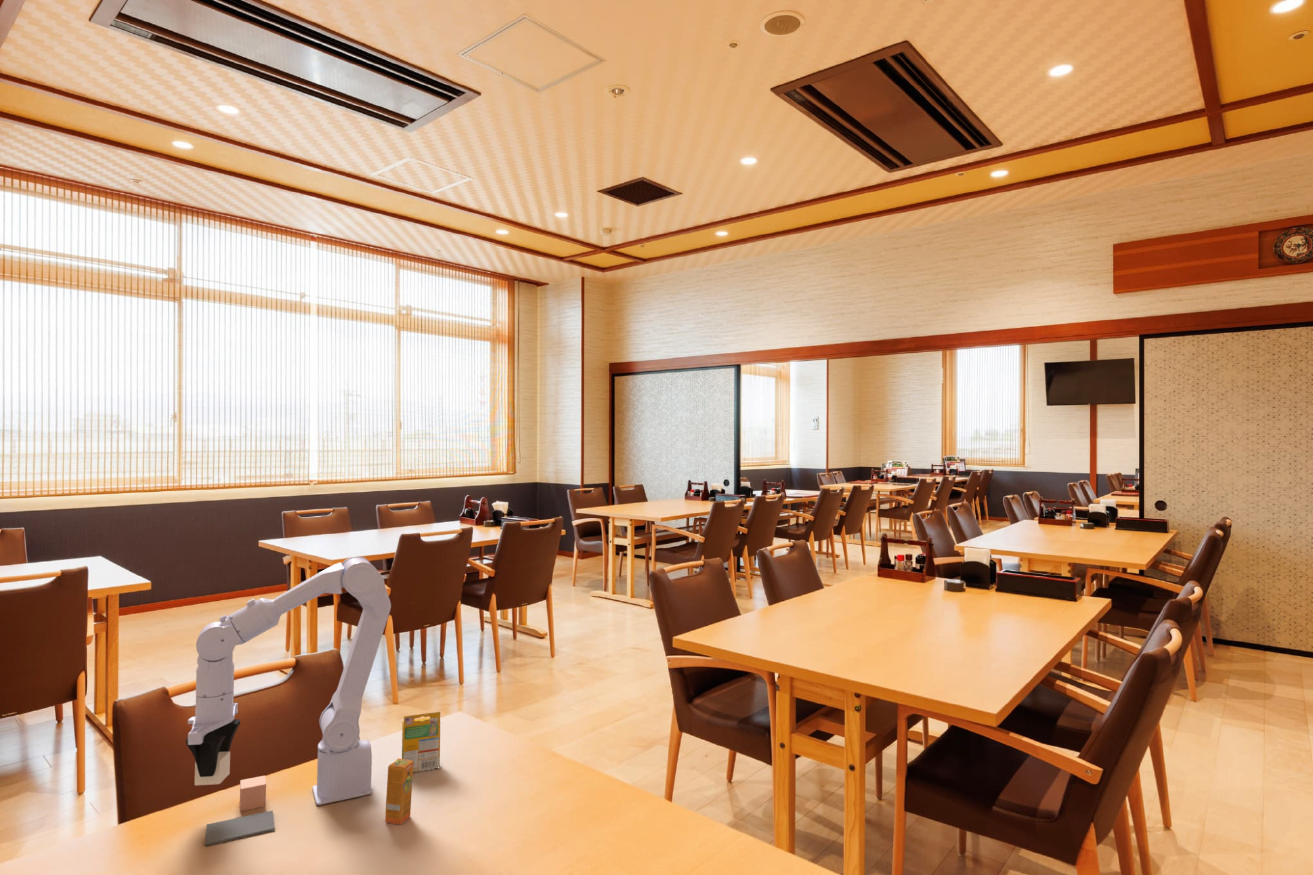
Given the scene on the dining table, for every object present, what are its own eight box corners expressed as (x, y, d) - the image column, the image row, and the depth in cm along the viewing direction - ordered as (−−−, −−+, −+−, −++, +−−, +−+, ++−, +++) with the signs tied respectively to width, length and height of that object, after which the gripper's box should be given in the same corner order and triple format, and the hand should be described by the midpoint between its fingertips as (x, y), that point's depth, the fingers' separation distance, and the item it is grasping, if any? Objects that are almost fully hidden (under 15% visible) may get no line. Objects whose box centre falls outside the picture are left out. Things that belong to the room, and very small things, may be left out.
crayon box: (438, 763, 149) (439, 707, 150) (439, 768, 147) (441, 711, 147) (401, 768, 146) (402, 711, 147) (402, 774, 144) (403, 716, 144)
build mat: (272, 812, 128) (272, 810, 128) (274, 830, 122) (274, 828, 122) (206, 826, 123) (206, 824, 123) (205, 846, 117) (205, 843, 117)
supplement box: (402, 825, 124) (403, 767, 124) (384, 823, 125) (385, 765, 125) (412, 816, 127) (413, 759, 128) (395, 814, 128) (396, 757, 128)
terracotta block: (264, 797, 134) (265, 775, 134) (265, 806, 131) (266, 784, 131) (239, 802, 132) (240, 780, 132) (240, 811, 128) (240, 788, 129)
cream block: (229, 773, 128) (230, 751, 129) (219, 783, 124) (220, 760, 125) (205, 775, 128) (206, 752, 128) (194, 785, 124) (195, 762, 124)
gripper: (209, 680, 133) (207, 753, 133) (168, 707, 119) (166, 790, 118) (250, 678, 134) (248, 751, 134) (214, 705, 120) (212, 787, 119)
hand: (213, 769), depth 126 cm, fingers closed on cream block, 4 cm apart
